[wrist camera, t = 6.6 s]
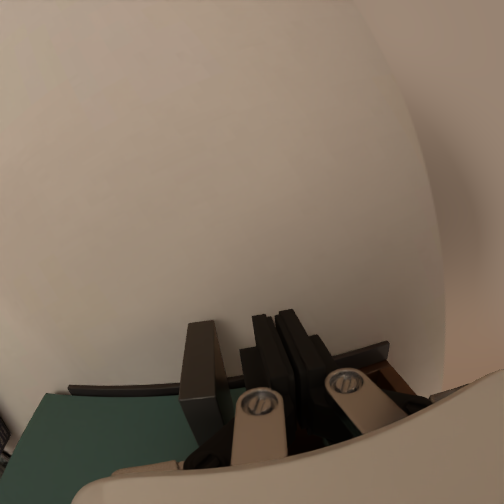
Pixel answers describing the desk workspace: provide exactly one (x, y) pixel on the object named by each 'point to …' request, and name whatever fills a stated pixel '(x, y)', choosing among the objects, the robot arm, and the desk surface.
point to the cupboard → (362, 359)
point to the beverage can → (3, 463)
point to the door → (120, 429)
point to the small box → (3, 435)
